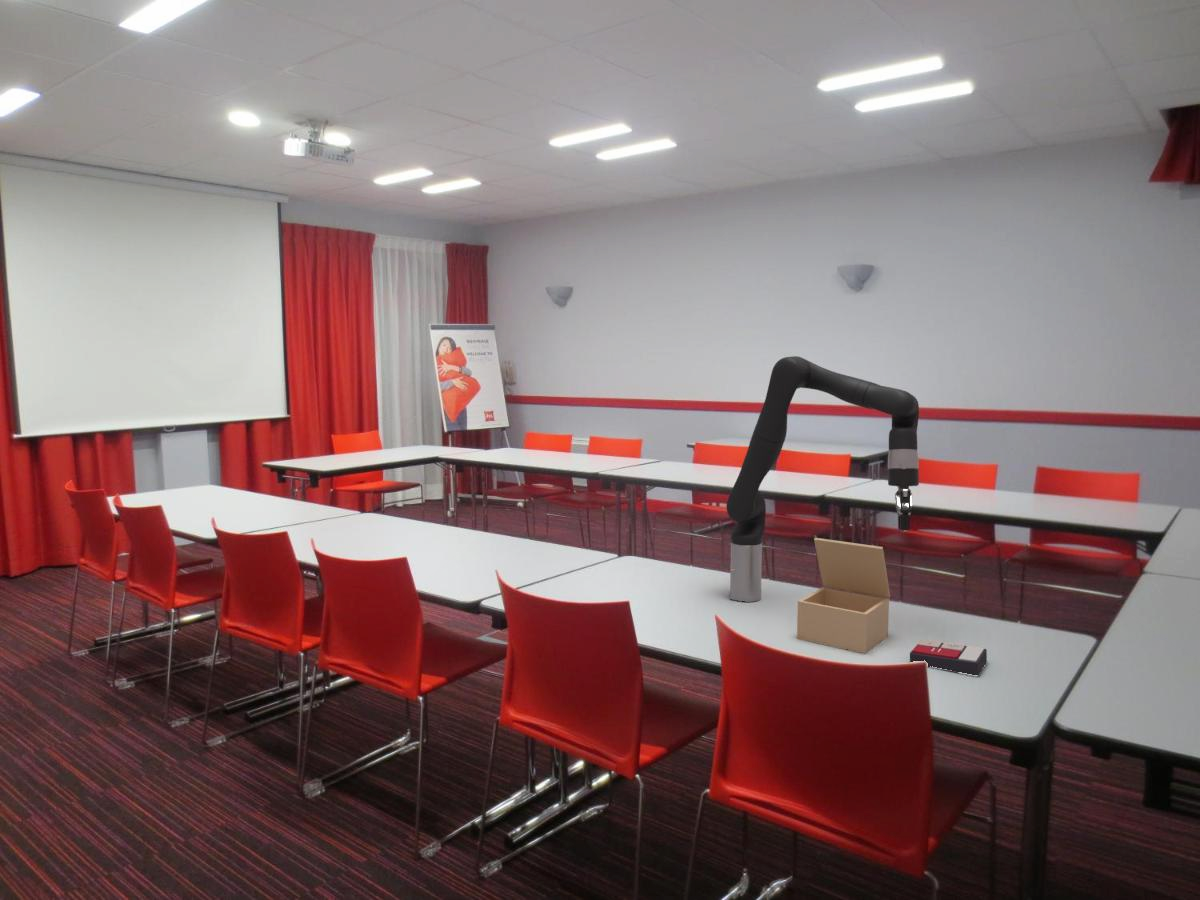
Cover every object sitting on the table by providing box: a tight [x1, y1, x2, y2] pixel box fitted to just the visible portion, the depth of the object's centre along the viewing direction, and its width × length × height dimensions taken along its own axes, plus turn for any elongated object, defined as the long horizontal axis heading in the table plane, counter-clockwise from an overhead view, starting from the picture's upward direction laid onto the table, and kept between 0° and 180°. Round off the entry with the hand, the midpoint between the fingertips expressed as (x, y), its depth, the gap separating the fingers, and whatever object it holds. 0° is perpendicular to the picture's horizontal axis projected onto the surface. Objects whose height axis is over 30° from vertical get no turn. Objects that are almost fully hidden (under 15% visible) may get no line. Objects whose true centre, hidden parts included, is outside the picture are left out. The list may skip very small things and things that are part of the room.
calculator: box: [909, 638, 988, 676], centre depth 191 cm, size 11×4×15 cm
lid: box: [813, 537, 891, 599], centre depth 211 cm, size 16×18×1 cm
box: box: [796, 586, 890, 654], centre depth 209 cm, size 16×18×10 cm
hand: (903, 530), depth 208 cm, fingers open, 8 cm apart
